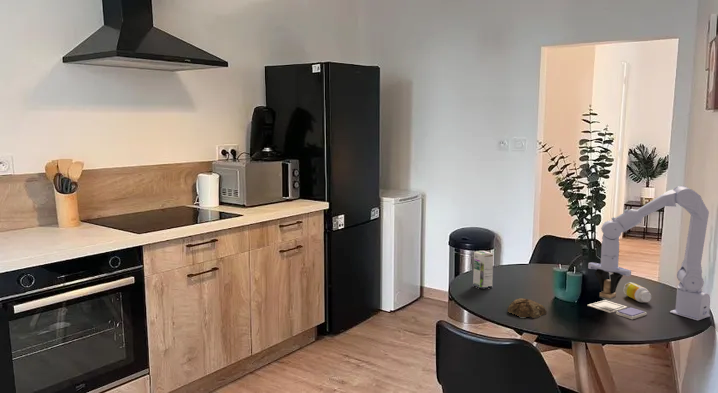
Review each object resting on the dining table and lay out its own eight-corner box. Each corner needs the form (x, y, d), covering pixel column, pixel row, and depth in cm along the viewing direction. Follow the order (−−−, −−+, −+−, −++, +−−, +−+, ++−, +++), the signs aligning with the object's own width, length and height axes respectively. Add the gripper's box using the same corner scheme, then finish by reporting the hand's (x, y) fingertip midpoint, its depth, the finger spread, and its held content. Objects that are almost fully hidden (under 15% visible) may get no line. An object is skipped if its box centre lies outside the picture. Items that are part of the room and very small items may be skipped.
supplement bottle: (622, 296, 207) (639, 305, 197) (622, 282, 207) (639, 290, 197) (636, 295, 208) (653, 303, 198) (636, 281, 207) (653, 289, 197)
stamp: (615, 297, 195) (616, 280, 194) (610, 299, 193) (611, 282, 192) (604, 294, 198) (605, 278, 197) (599, 297, 196) (600, 280, 195)
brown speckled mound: (518, 304, 200) (518, 291, 200) (550, 312, 192) (550, 299, 191) (499, 313, 192) (500, 299, 191) (532, 322, 183) (532, 308, 182)
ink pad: (646, 314, 187) (646, 311, 187) (632, 319, 183) (632, 316, 183) (630, 309, 192) (630, 306, 192) (616, 314, 188) (616, 310, 188)
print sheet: (627, 307, 195) (627, 306, 195) (609, 312, 190) (609, 311, 190) (604, 300, 202) (604, 299, 202) (587, 305, 197) (587, 304, 197)
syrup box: (472, 286, 222) (473, 251, 220) (484, 284, 225) (484, 249, 223) (481, 290, 217) (481, 254, 215) (493, 287, 219) (493, 252, 217)
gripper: (635, 256, 190) (633, 293, 192) (595, 249, 201) (593, 284, 203) (626, 259, 186) (624, 298, 188) (586, 252, 197) (584, 288, 199)
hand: (607, 291), depth 195 cm, fingers closed on stamp, 3 cm apart
